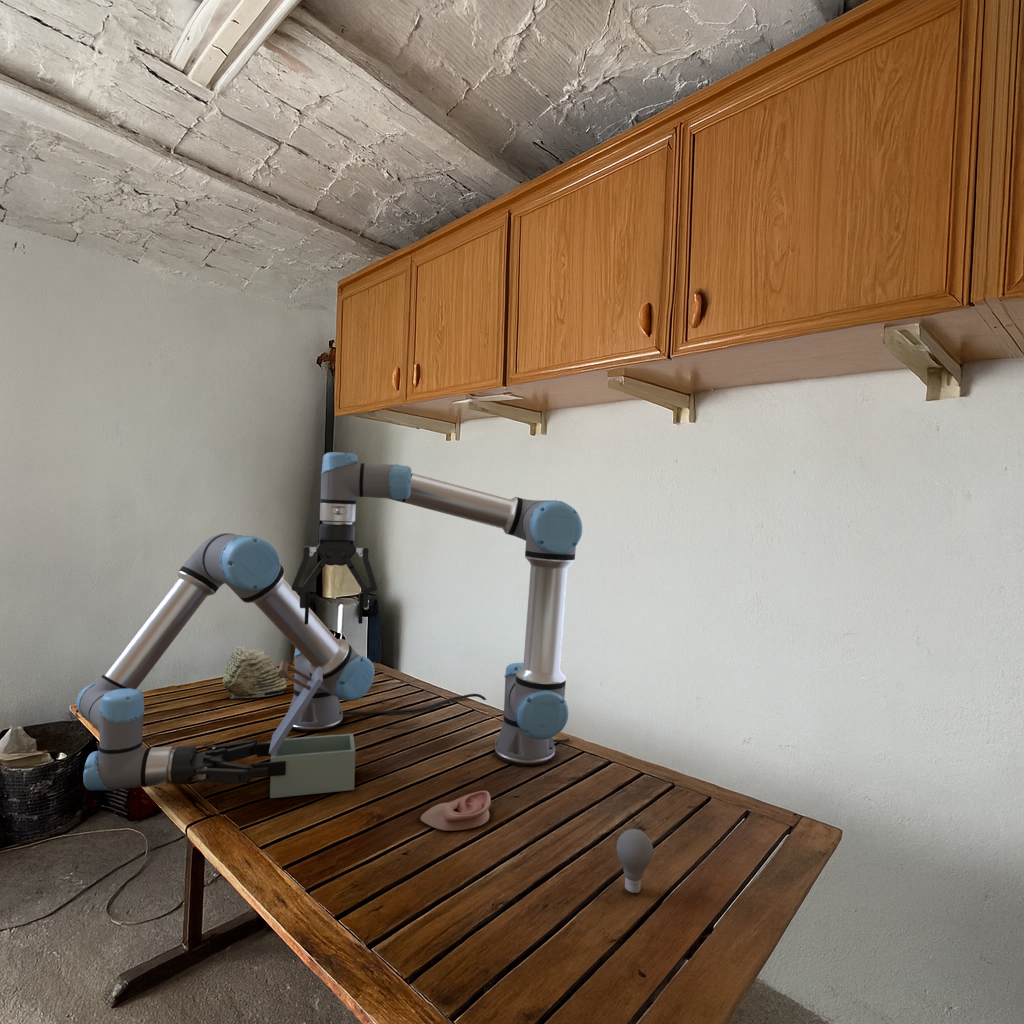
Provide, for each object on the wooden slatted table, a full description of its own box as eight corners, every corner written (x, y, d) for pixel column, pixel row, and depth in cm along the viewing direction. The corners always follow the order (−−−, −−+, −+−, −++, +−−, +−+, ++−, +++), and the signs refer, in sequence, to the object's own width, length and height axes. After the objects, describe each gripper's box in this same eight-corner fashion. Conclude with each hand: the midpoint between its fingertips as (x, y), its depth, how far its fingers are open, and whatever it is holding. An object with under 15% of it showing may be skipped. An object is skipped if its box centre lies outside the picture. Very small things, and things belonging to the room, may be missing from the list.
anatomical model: (415, 806, 123) (434, 781, 134) (414, 826, 123) (433, 799, 134) (481, 816, 120) (495, 789, 132) (480, 836, 120) (494, 808, 132)
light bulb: (610, 879, 108) (613, 822, 108) (644, 879, 109) (647, 822, 109) (619, 902, 102) (622, 840, 102) (655, 901, 103) (658, 840, 103)
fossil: (218, 695, 195) (220, 647, 195) (278, 685, 208) (279, 640, 207) (228, 703, 189) (230, 653, 188) (289, 692, 201) (290, 645, 201)
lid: (322, 668, 144) (289, 649, 142) (322, 681, 134) (286, 661, 132) (276, 737, 142) (241, 719, 139) (273, 756, 132) (235, 736, 130)
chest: (352, 770, 147) (353, 733, 146) (354, 789, 137) (355, 750, 137) (273, 777, 142) (274, 739, 142) (269, 798, 132) (270, 757, 132)
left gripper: (184, 761, 142) (288, 754, 149) (159, 809, 120) (283, 798, 127) (185, 728, 142) (290, 722, 148) (160, 770, 120) (284, 761, 127)
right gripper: (280, 522, 132) (276, 627, 133) (392, 525, 139) (388, 625, 139) (282, 520, 139) (278, 620, 140) (389, 523, 146) (385, 618, 147)
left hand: (286, 757), depth 138 cm, fingers closed on chest, 10 cm apart
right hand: (333, 622), depth 140 cm, fingers open, 11 cm apart
